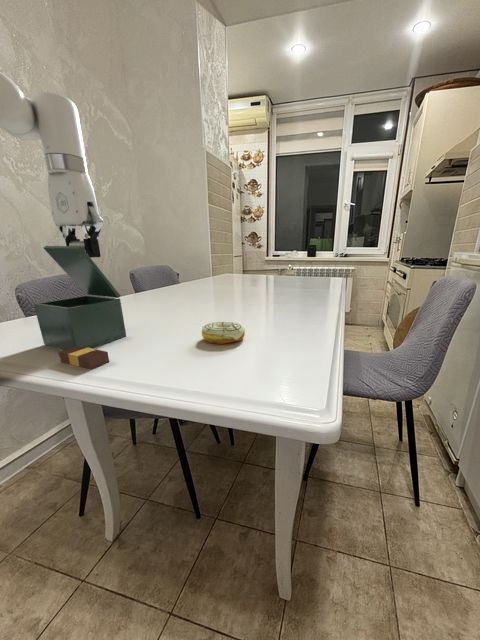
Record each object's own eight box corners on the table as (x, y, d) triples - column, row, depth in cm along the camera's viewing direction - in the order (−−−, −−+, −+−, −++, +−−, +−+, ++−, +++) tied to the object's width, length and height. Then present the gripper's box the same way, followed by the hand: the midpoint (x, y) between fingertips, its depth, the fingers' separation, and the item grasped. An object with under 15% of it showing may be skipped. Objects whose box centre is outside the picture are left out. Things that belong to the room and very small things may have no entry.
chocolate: (60, 361, 59) (57, 351, 58) (80, 355, 63) (78, 345, 62) (90, 369, 55) (88, 358, 55) (109, 361, 59) (107, 351, 58)
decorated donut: (246, 345, 69) (245, 329, 68) (200, 346, 68) (199, 331, 67) (244, 332, 79) (243, 318, 78) (204, 333, 78) (203, 319, 77)
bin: (78, 352, 64) (68, 308, 61) (44, 344, 69) (33, 303, 65) (126, 336, 75) (120, 298, 72) (94, 330, 80) (87, 295, 77)
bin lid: (78, 248, 61) (94, 233, 64) (42, 247, 65) (59, 234, 68) (118, 298, 71) (131, 283, 74) (85, 294, 76) (98, 281, 79)
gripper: (25, 168, 62) (45, 256, 69) (77, 159, 56) (94, 258, 62) (60, 175, 69) (76, 255, 75) (111, 168, 62) (124, 257, 68)
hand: (84, 256), depth 68 cm, fingers closed on bin lid, 5 cm apart
